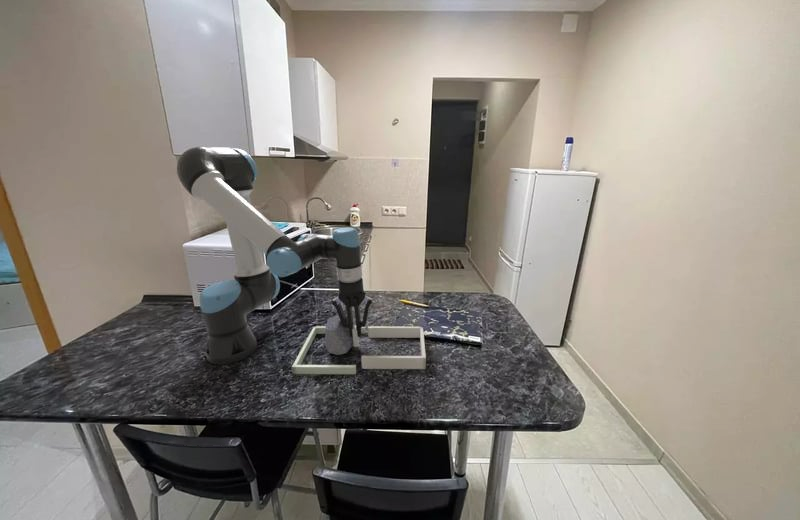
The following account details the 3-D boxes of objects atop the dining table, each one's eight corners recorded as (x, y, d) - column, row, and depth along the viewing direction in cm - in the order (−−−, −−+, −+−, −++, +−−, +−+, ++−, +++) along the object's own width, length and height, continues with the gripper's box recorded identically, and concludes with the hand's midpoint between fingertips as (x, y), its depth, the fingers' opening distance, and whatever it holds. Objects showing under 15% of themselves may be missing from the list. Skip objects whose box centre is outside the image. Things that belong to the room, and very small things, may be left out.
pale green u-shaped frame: (292, 373, 91) (291, 366, 91) (314, 332, 113) (313, 326, 112) (355, 374, 91) (355, 367, 90) (365, 332, 113) (365, 326, 112)
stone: (341, 342, 109) (363, 332, 106) (333, 364, 101) (356, 354, 97) (319, 320, 105) (341, 309, 101) (309, 341, 96) (332, 330, 93)
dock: (361, 368, 93) (361, 357, 92) (368, 336, 110) (368, 326, 109) (425, 369, 93) (425, 358, 92) (422, 336, 110) (422, 326, 109)
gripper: (326, 283, 90) (334, 351, 97) (369, 282, 90) (375, 350, 97) (332, 274, 97) (339, 338, 105) (372, 273, 97) (377, 337, 104)
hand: (356, 344), depth 101 cm, fingers closed
